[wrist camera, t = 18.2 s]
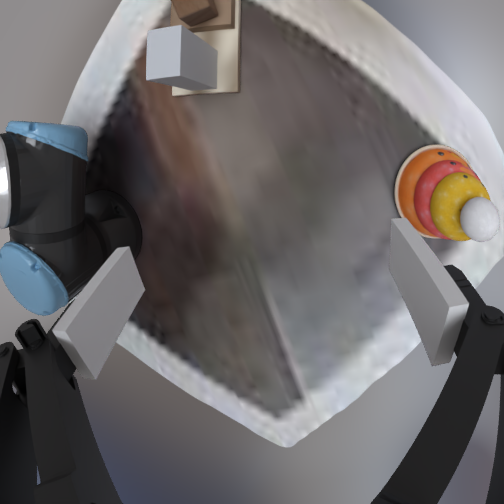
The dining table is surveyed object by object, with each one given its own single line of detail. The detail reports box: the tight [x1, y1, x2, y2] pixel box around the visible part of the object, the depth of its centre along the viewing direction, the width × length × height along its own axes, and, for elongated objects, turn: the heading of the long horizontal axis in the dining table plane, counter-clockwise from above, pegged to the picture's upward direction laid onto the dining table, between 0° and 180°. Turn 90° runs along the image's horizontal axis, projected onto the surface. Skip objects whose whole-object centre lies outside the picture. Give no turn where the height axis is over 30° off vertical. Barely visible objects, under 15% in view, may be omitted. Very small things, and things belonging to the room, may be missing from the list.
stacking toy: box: [395, 145, 500, 242], centre depth 34 cm, size 14×14×20 cm
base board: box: [170, 0, 241, 96], centre depth 38 cm, size 10×21×4 cm, turn 0°
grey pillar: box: [146, 25, 218, 91], centre depth 35 cm, size 4×6×14 cm, turn 179°
